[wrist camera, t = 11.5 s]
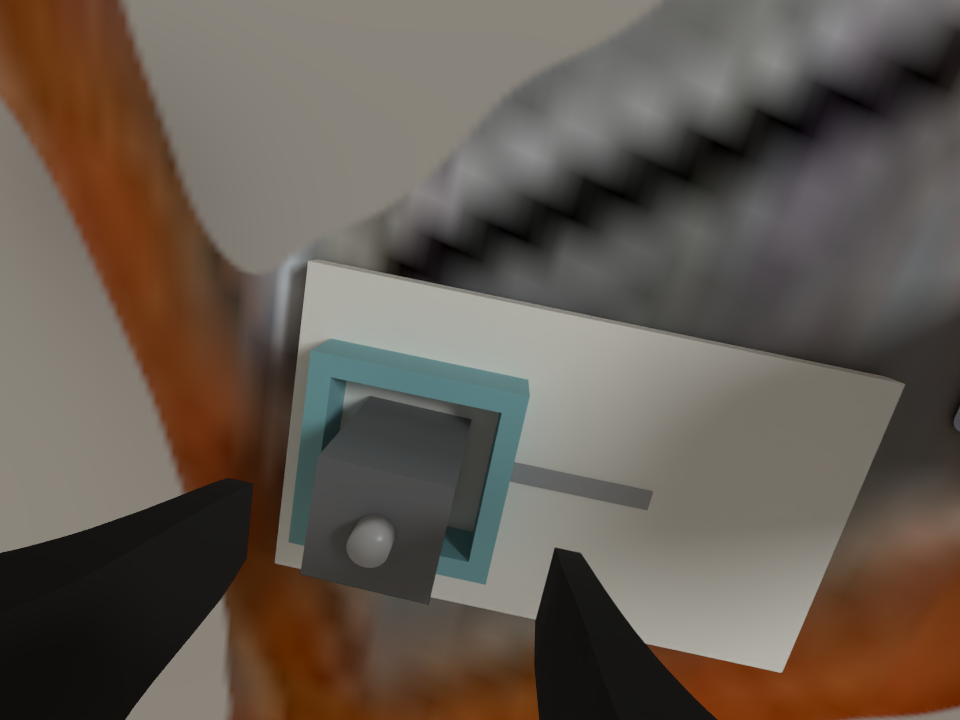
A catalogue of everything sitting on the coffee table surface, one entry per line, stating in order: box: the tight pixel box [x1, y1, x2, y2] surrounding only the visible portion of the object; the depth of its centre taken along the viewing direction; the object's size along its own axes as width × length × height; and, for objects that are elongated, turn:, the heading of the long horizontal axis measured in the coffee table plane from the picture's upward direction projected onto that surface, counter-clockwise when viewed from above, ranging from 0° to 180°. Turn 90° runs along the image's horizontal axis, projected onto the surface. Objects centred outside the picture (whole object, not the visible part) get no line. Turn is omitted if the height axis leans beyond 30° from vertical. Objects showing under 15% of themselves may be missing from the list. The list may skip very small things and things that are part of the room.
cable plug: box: [300, 396, 472, 605], centre depth 17 cm, size 4×4×6 cm
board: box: [275, 259, 905, 673], centre depth 20 cm, size 22×13×3 cm, turn 79°
